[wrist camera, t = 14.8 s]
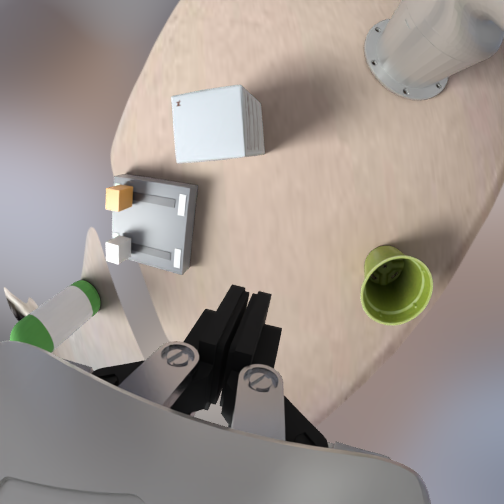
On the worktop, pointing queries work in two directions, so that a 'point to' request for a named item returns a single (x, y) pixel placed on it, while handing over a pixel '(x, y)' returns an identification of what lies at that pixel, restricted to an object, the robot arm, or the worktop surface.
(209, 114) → the supplement box
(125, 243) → the white slider switch
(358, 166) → the worktop surface
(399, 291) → the plant pot
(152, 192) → the slider switch panel
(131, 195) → the block
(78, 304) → the wine bottle
